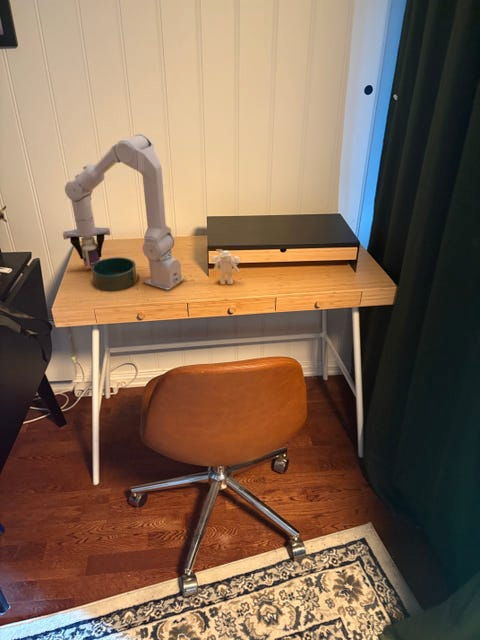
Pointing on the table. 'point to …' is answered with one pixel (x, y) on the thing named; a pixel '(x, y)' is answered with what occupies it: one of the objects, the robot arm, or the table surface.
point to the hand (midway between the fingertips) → (91, 256)
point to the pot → (114, 273)
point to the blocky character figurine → (225, 265)
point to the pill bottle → (89, 251)
